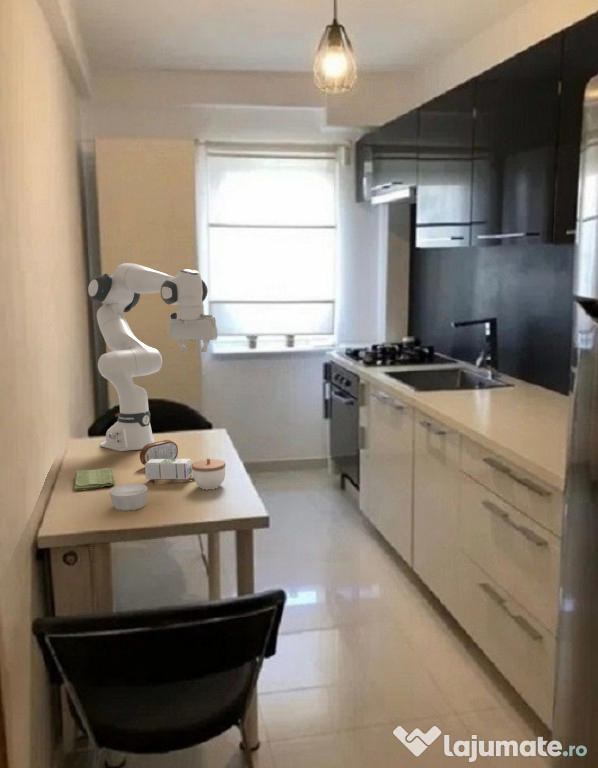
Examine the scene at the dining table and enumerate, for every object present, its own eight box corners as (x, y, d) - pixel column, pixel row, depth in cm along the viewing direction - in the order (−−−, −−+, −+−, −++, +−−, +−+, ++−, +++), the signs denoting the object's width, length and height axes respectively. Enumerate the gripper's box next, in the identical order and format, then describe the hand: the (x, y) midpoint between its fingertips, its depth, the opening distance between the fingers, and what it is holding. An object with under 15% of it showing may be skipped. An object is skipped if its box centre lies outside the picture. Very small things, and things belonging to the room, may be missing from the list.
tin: (175, 459, 266) (173, 437, 265) (180, 460, 264) (178, 438, 262) (140, 468, 256) (138, 445, 254) (144, 470, 254) (143, 446, 252)
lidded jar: (217, 493, 225) (215, 464, 223) (187, 490, 228) (185, 462, 227) (232, 483, 234) (230, 455, 233) (202, 480, 238) (201, 453, 237)
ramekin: (125, 515, 208) (124, 497, 207) (103, 507, 215) (101, 490, 214) (156, 504, 216) (155, 487, 215) (134, 497, 223) (132, 481, 223)
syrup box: (145, 479, 238) (188, 480, 236) (144, 462, 237) (187, 463, 235) (151, 474, 243) (192, 475, 242) (150, 457, 242) (192, 458, 241)
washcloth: (74, 493, 231) (73, 483, 230) (74, 478, 248) (73, 469, 247) (116, 488, 235) (115, 479, 234) (113, 474, 251) (112, 465, 251)
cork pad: (155, 484, 235) (154, 482, 235) (152, 473, 249) (152, 470, 249) (197, 480, 239) (197, 477, 239) (192, 469, 252) (192, 466, 252)
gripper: (219, 313, 260) (222, 351, 263) (176, 313, 271) (178, 349, 273) (209, 315, 255) (211, 353, 257) (165, 314, 265) (167, 351, 267)
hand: (194, 351), depth 265 cm, fingers open, 8 cm apart
